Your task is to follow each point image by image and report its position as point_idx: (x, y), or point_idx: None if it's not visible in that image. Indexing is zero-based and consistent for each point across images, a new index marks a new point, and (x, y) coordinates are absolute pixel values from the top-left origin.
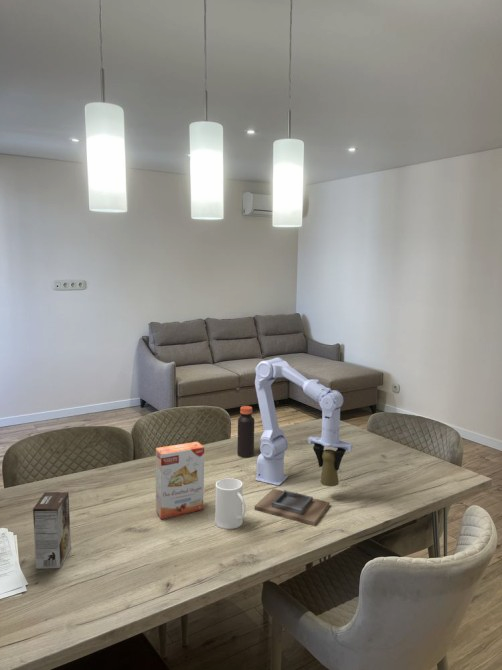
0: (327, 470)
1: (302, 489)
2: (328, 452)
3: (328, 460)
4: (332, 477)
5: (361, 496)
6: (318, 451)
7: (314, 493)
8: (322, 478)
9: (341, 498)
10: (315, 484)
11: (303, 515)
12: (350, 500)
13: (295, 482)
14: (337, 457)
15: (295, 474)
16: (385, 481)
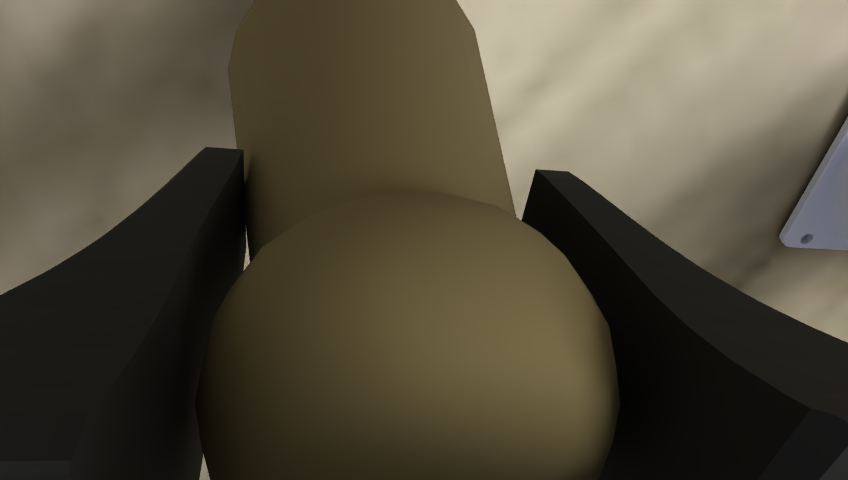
0: (390, 83)
1: (643, 81)
2: (438, 422)
3: (390, 197)
4: (289, 42)
5: (58, 166)
6: (777, 365)
7: (517, 44)
8: (459, 32)
9: (223, 45)
10: None
11: None
12: (118, 38)
13: (708, 187)
14: (95, 309)
15: None
16: None
